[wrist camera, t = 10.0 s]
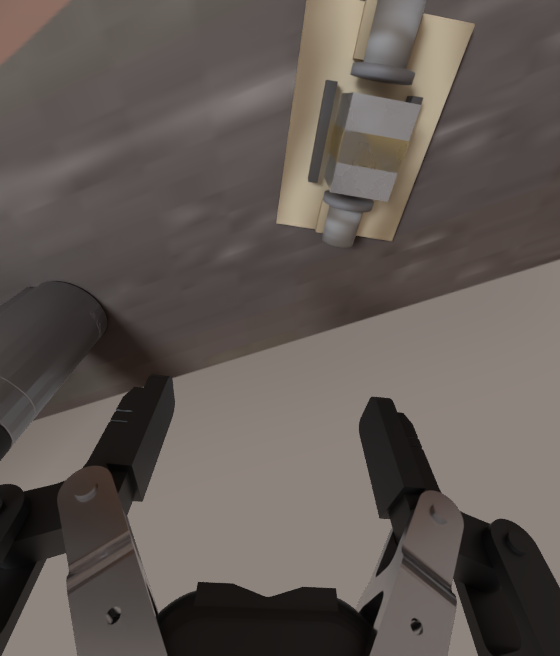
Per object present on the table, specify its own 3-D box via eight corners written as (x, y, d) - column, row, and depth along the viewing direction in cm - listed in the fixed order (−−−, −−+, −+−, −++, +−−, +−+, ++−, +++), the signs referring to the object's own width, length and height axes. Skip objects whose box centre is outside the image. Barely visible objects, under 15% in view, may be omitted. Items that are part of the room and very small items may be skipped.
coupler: (340, 93, 24) (352, 91, 19) (396, 103, 24) (422, 105, 19) (323, 175, 27) (329, 192, 23) (372, 184, 28) (388, 201, 23)
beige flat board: (276, 219, 31) (274, 239, 27) (307, -6, 21) (310, -33, 17) (388, 236, 32) (404, 259, 27) (467, 27, 22) (512, 8, 18)
